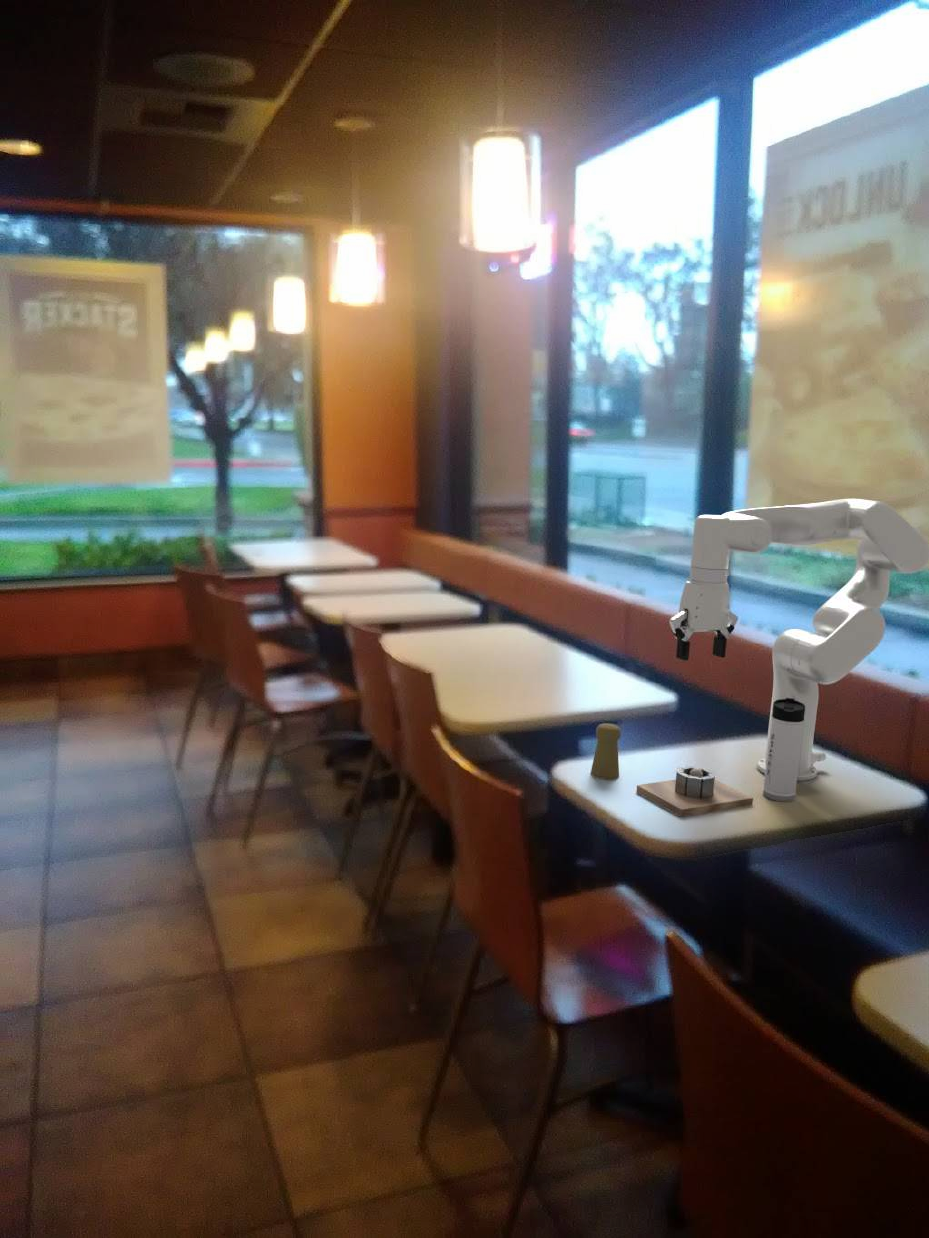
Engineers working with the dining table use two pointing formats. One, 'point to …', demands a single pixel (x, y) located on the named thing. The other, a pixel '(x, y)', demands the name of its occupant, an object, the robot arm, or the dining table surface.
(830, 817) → the dining table surface
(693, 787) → the steel ring
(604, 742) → the cork
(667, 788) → the board
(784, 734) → the travel mug
